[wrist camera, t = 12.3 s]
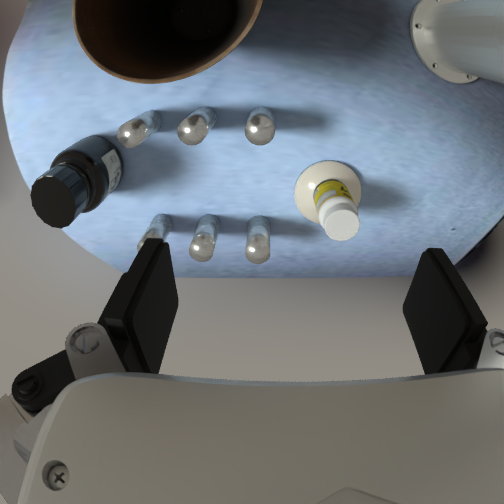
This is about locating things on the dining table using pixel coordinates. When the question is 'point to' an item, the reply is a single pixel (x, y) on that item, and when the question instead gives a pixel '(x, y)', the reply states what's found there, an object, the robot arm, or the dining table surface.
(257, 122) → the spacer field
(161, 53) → the plant pot
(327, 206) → the supplement bottle
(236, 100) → the dining table surface
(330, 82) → the dining table surface
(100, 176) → the ink bottle
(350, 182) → the coaster
